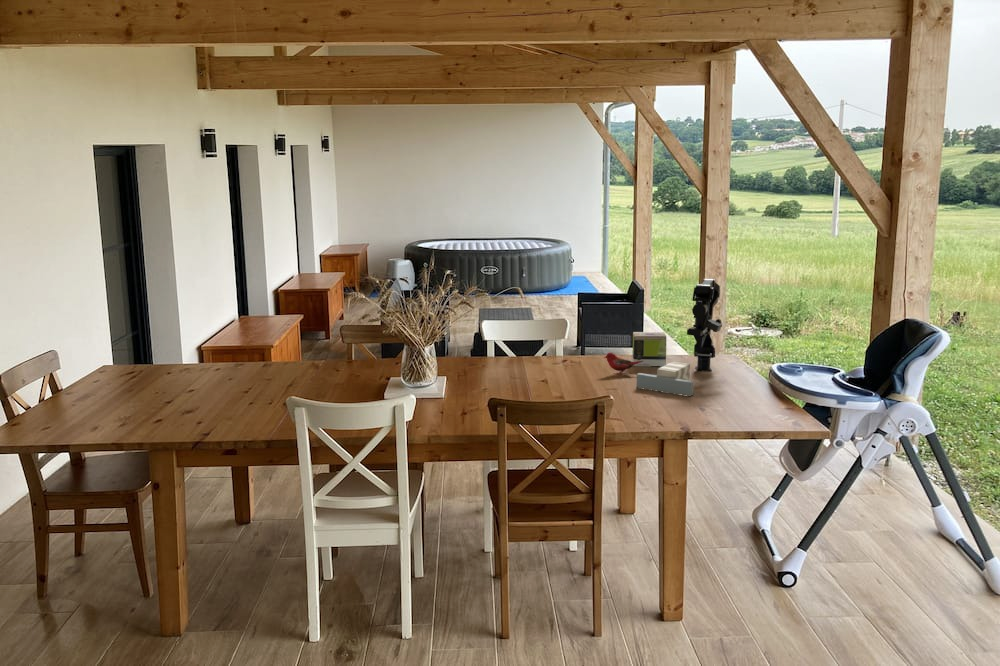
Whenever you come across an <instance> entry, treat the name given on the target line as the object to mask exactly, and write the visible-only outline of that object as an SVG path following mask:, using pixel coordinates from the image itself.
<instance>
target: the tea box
mask: <svg viewBox="0 0 1000 666" xmlns="http://www.w3.org/2000/svg"><path fill="white" fill-rule="evenodd" d="M637 361H643V362H640V363H637V364H635V365H633V367H651V366H660V367H659V368H661V367H663V366H664V365H666V364H667V334H666V332H664V331H661V332H659V331H657V332H656V331H633V332H632V362H637Z"/></svg>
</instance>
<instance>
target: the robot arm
mask: <svg viewBox="0 0 1000 666" xmlns="http://www.w3.org/2000/svg"><path fill="white" fill-rule="evenodd" d="M719 298H721V286H720V285H719V284H718V283H717V282H716V279H715V278H703V281H702V283H697V284H696V285H695V286H694V287H693V293H692V299H691V301H692V302H695V304H694V305H693V307H692V309H691V310H692V311H691V312H692V314H693V318H694V324H693V325H692V327H689V328H688V329H686V335H688V336H693V338H694V340H695V343H694V345H693V346H694V347H693V356H694V357H697V361H696V362H697V363H696V364H697V365H696V366H695V369H696V371H698V372H712V371H713V370H712V368H711V359H713V358H716V348H715V345H714V342H713V339H712V338H711V332H714V333H718V332H719V331H720V330H721V327H723V323H722V319H720V318H717V319H716V320H715V319H713V316H714V308H715V306H716V305H717V304H718V302H719Z"/></svg>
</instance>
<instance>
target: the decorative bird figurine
mask: <svg viewBox="0 0 1000 666" xmlns="http://www.w3.org/2000/svg"><path fill="white" fill-rule="evenodd" d="M604 358H605V359H606V361H607V362H608V365H609V367H610V368H611V369H612V370H614V371H618V372H616V373H615V372H613V373H612V374H614V375H623V374H624V371H626V370H628V369H631V368H632V367H634V365H635V364H637V363H640V362H643V361H637V362H633V361H631V360H628V359H625V358H623V357H618V356H617V355H616V354H614V353H612V352H608V353H606V355H605V356H604Z"/></svg>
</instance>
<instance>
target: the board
mask: <svg viewBox="0 0 1000 666" xmlns="http://www.w3.org/2000/svg"><path fill="white" fill-rule="evenodd" d="M637 387H638V388H637ZM636 388H637V389H640V388H644V389H643V390H646V389H652V390H657V391H656V392H658V391H663V392H662V393H664V392H668V393H667V394H670V393H675V394H674V395H676V394H682V395H687V396H686V397H688V396H691V395H693V396H694V381H693V380H689V381H688V380H682V379H675V378H669V377H662V376H657V374H656V375H655V374H649V373H641V372H638V373H637V374H636ZM652 390H651V391H652ZM682 395H681V396H682ZM691 397H692V396H691Z"/></svg>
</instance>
